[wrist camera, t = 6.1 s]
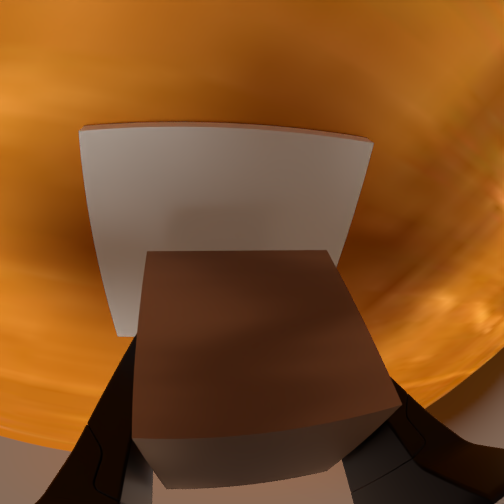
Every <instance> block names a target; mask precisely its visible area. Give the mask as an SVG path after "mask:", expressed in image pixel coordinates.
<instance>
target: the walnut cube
mask: <svg viewBox="0 0 504 504" xmlns="http://www.w3.org/2000/svg"><path fill="white" fill-rule="evenodd" d="M401 405H402V403H401V401H400V398H399V396H398V394H397V391H396V389H395V387H394V385H393V383H392V380H391V378H390V376H389V374H388V371H387V369H386V367H385V365H384V363H383V361H382V358H381V356H380V354H379V352H378V350H377V348H376V346H375V344H374V342H373V339H372V337H371V335H370V333H369V331H368V329H367V327H366V325H365V323H364V321H363V319H362V317H361V315H360V313H359V311H358V309H357V307H356V305H355V303H354V301H353V299H352V297H351V295H350V293H349V291H348V289H347V287H346V285H345V283H344V281H343V280H342V278H341V276H340V274H339V272H338V270H337V268H336V266H335V264H334V262H333V261H332V259H331V257H330V255H329V253H328V251H327V250H242V251H147V255H146V261H145V268H144V276H143V283H142V291H141V300H140V309H139V318H138V328H137V339H136V352H135V366H134V383H133V406H132V439H133V441H134V442H135V444H136V445H137V447H138V449H139V450H140V452H141V453H142V455H143V456H144V458H145V459H146V461H147V462H148V464H149V465H150V467H151V468H152V470H153V471H154V472H155V474H156V475H157V477H158V478H159V479H160V481H161V482H162V484H163V485H164V486H165V488H166V489H198V488H217V487H230V486H240V485H248V484H257V483H265V482H272V481H278V480H284V479H290V478H295V477H301V476H306V475H311V474H315V473H320V472H324V471H327V470H328V469H330V468H331V467H332V466H334V465H335V464H336V463H338V462H339V461H340V460H341V459H343V458H344V457H345V456H346V455H348V454H349V453H350V452H351V451H352V450H354V449H355V448H356V447H357V446H358V445H359V444H361V443H362V442H363V441H364V440H365V439H366V438H367V437H368V436H370V435H371V434H372V433H373V432H374V431H375V430H376V429H377V428H378V427H379V426H381V425H382V424H383V423H384V422H385V421H386V420H387V419H388V418H389V417H390V416H391V415H392V414H393V413H394V412H395V411H396V410H397V409H398V408H399V407H400V406H401Z"/></svg>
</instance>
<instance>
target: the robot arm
mask: <svg viewBox="0 0 504 504" xmlns="http://www.w3.org/2000/svg"><path fill="white" fill-rule="evenodd" d="M136 339H137V334H136V335H135V337H134V339H133V340H132V342H131V344H130V346H129V347H128V349H127V351H126V353H125V354H124V356H123V358H122V360H121V362H120V363H119V365H118V367H117V369H116V371H115V372H114V374H113V376H112V378H111V380H110V381H109V383H108V385H107V387H106V389H105V391H104V392H103V394H102V396H101V398H100V400H99V402H98V404H97V406H96V407H95V409H94V411H93V413H92V415H91V417H90V419H89V421H88V425H86V426H85V428H84V430H83V432H82V434H81V436H80V438H79V440H78V441H77V443H76V445H75V447H74V449H73V450H72V452H71V454H70V455H69V457H68V458H67V460H66V462H65V463H64V465H63V466H62V467H61V469H60V470H59V472H58V473H57V475H56V477H55V478H54V479H53V481H52V482H51V484H50V485H49V487H48V489H47V490H46V492H45V493H44V494H43V496H42V497H41V498H40V499H39V500H38V501H37V502H36V503H35V504H152V485H153V484H152V483H153V470H152V468H151V467H150V465H149V464H148V462H147V461H146V459H145V458H144V456H143V455H142V453H141V452H140V450H139V449H138V447H137V445H136V444H135V442H134V441H133V439H132V406H133V383H134V366H135V352H136ZM390 378H391V377H390ZM391 380H392V383H393V385H394V387H395V389H396V391H397V394H398V396H399V398H400V401H401V403H402V405H401V406H400V407H399V408H398V409H397V410H396V411H395V412H394V413H393V414H392V415H391V416H390V417H389V418H388V419H387V420H386V421H385V422H384V423H383V424H382V425H381V426H379V427H378V428H377V429H376V430H375V431H374V432H373V433H372V434H371V435H370V436H368V437H367V438H366V439H365V440H364V441H363V442H362V443H361V444H359V445H358V446H357V447H356V448H355V449H354V450H352V451H351V452H350V453H349V454H348V455H346V456H345V457H344V458H343V459H342V462H343V466H344V469H345V472H346V476H347V480H348V484H349V487H350V491H351V492H352V493H351V495H352V499H353V502H354V504H504V449H502V448H495V447H489V446H483V445H477V444H473V443H470V442H468V441H466V440H464V439H462V438H461V437H460V436H458V435H457V434H456V433H454V432H453V431H452V430H450V429H449V428H448V427H446V426H445V425H444V424H443V423H441V422H440V421H439V420H437V419H436V418H435V417H434V416H432V415H431V414H430V413H429V412H427V411H426V410H425V409H424V408H423V407H422V406H421V405H420V404H419V403H417V402H416V401H415V400H414V399H413V398H412V397H411V396H410V395H409V394H407V392H406V391H405V390H404V389H403V388H402V387H401V386H400V385H398V384H397V383H396V382H395V381H394V380H393V379H392V378H391Z"/></svg>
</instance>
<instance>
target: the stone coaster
mask: <svg viewBox="0 0 504 504" xmlns="http://www.w3.org/2000/svg"><path fill="white" fill-rule="evenodd" d="M79 141H80V152H81V161H82V170H83V178H84V186H85V193H86V200H87V206H88V212H89V218H90V224H91V229H92V235H93V240H94V245H95V250H96V254H97V259H98V264H99V268H100V272H101V277H102V281H103V285H104V289H105V293H106V297H107V301H108V304H109V308H110V312H111V315H112V319H113V322H114V326H115V329H116V332H117V336H122V337H135V335H136V334H137V328H138V318H139V309H140V300H141V291H142V283H143V276H144V268H145V261H146V255H147V251H242V250H327V251H328V253H329V255H330V257H331V259H332V261H333V262H334V264H335V266H336V267H337V264H338V261H339V258H340V255H341V252H342V249H343V246H344V243H345V240H346V237H347V234H348V231H349V228H350V225H351V221H352V218H353V215H354V212H355V209H356V205H357V202H358V199H359V195H360V192H361V188H362V185H363V181H364V178H365V174H366V171H367V167H368V164H369V160H370V156H371V152H372V149H373V145H374V143H373V142H372V141H370V140H369V139H368V138H365V137H359V136H353V135H347V134H340V133H333V132H325V131H317V130H309V129H300V128H290V127H280V126H268V125H255V124H238V123H216V122H139V123H117V124H101V125H89V126H84V127H82V128H81V129H80V130H79Z"/></svg>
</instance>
